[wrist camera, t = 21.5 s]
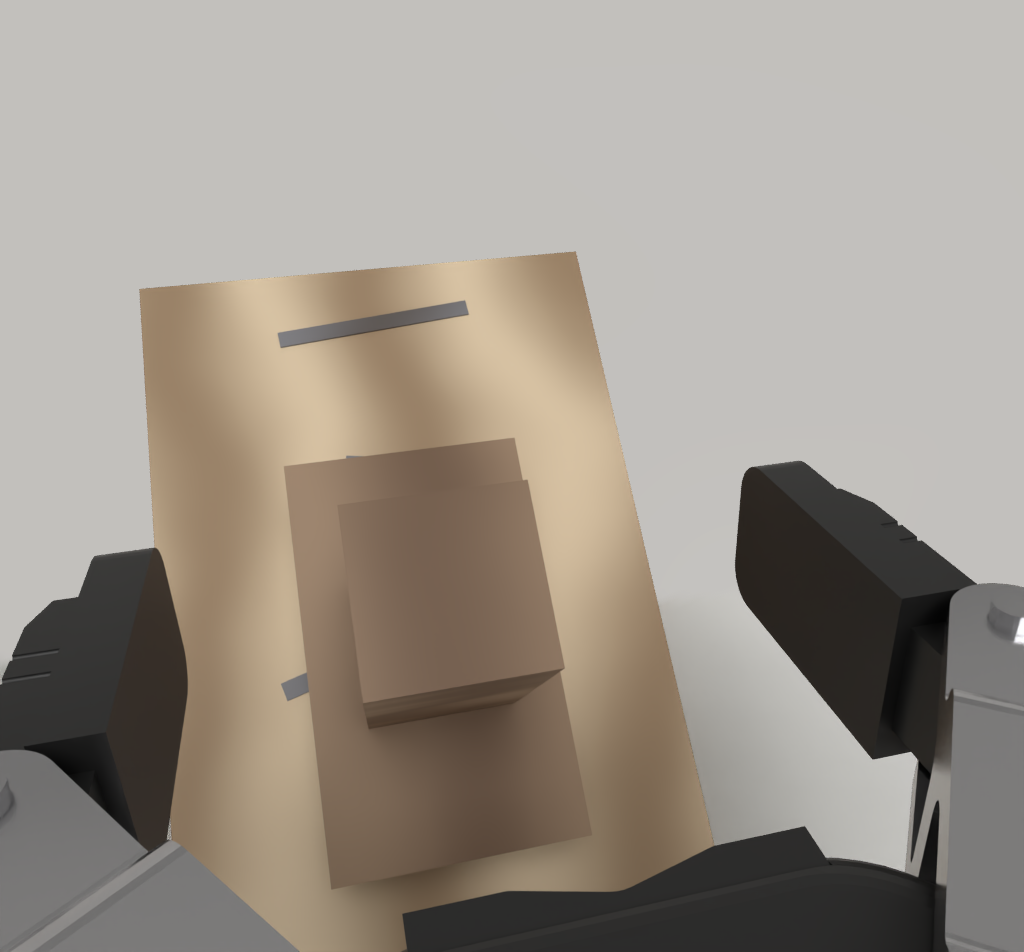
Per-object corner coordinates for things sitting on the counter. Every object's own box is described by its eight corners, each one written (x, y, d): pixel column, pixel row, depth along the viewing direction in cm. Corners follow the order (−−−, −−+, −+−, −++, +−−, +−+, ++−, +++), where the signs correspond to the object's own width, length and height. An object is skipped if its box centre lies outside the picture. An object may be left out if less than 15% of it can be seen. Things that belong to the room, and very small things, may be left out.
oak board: (194, 999, 23) (180, 1011, 22) (151, 313, 30) (138, 287, 28) (706, 885, 26) (725, 890, 24) (567, 275, 32) (576, 250, 31)
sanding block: (338, 876, 23) (308, 931, 14) (295, 507, 26) (247, 349, 17) (564, 829, 24) (676, 851, 15) (498, 479, 28) (558, 317, 18)
